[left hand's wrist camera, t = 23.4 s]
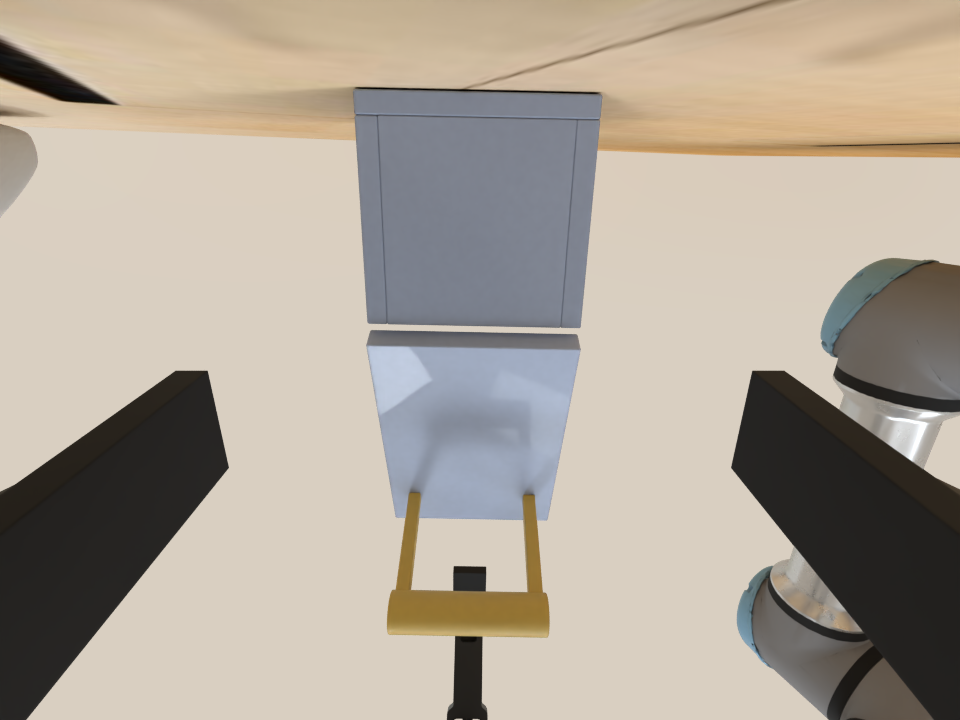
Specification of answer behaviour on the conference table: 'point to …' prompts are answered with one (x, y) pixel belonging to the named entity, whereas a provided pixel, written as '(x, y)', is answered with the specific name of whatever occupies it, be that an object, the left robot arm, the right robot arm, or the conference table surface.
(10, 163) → the projector
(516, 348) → the lid
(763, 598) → the right robot arm
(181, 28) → the conference table surface
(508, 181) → the chest
